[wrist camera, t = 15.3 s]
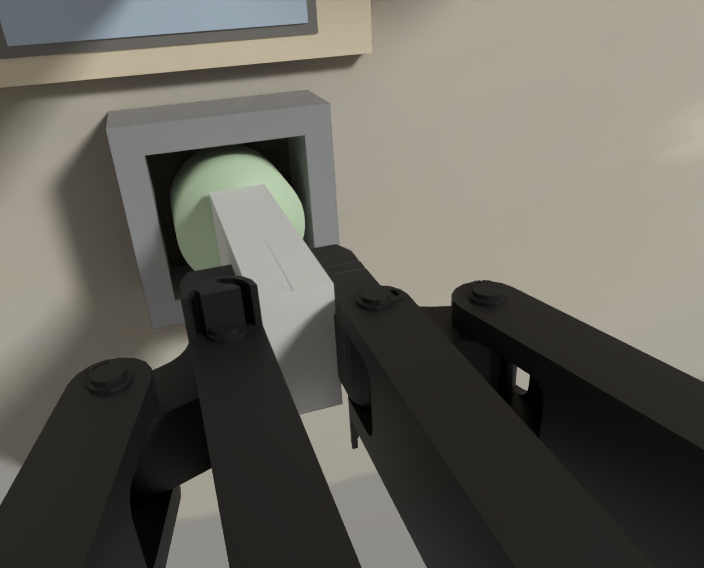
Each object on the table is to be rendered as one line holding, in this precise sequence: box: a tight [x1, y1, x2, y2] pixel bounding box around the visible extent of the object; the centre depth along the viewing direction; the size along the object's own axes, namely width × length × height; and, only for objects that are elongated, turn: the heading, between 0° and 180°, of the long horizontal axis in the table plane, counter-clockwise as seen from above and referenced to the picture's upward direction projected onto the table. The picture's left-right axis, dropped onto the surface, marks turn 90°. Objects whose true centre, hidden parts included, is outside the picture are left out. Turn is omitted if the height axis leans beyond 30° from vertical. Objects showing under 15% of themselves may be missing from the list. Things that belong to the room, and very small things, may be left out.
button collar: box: [106, 90, 339, 329], centre depth 19 cm, size 6×6×2 cm
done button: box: [170, 144, 305, 271], centre depth 18 cm, size 4×4×3 cm
